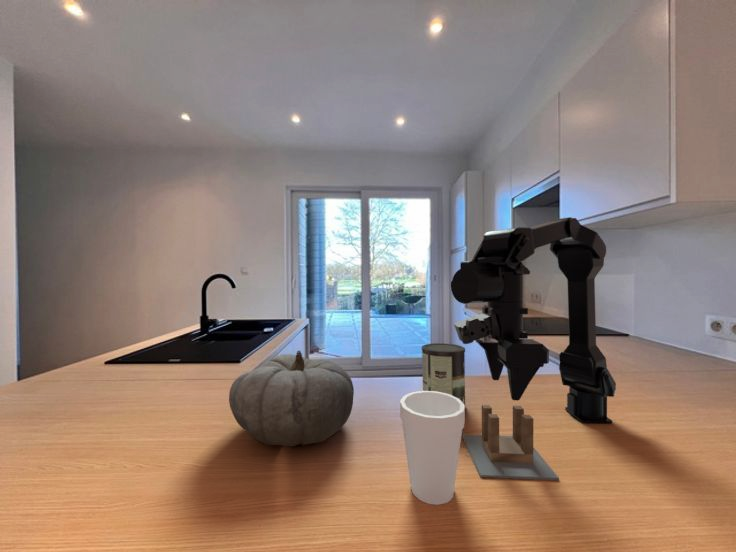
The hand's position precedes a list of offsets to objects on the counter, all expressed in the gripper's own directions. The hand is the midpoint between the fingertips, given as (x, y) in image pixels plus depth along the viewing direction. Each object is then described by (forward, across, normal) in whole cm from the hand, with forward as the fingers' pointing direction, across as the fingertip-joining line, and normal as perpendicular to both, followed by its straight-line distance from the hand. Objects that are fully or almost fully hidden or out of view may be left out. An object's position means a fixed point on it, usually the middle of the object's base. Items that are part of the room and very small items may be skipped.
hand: (504, 389), depth 54 cm
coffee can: (+12, -20, -7) cm, 24 cm away
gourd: (+12, -7, -40) cm, 42 cm away
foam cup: (+12, +9, -14) cm, 21 cm away
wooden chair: (+12, 0, 0) cm, 12 cm away
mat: (+12, 0, 0) cm, 12 cm away
